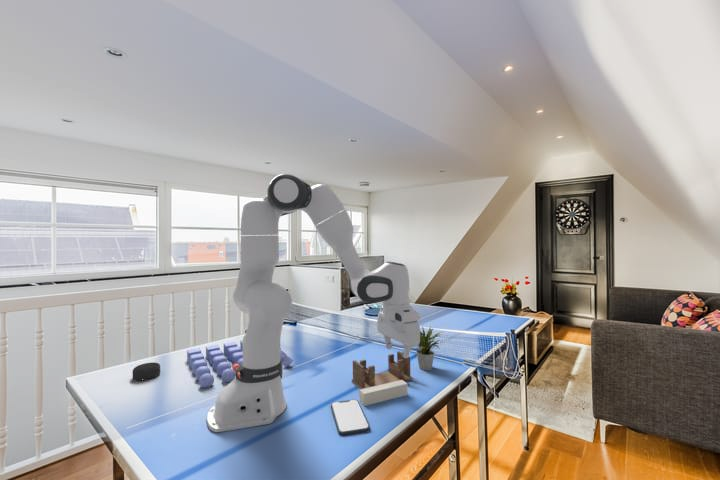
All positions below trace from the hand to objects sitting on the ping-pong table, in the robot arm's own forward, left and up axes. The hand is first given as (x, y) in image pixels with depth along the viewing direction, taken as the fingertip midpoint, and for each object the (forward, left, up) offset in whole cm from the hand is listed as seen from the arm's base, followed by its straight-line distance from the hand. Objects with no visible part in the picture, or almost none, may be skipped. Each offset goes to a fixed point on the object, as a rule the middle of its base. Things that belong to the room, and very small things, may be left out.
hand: (397, 352), depth 109 cm
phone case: (-20, -5, -14) cm, 25 cm away
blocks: (-42, +54, -15) cm, 70 cm away
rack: (+1, +11, -14) cm, 18 cm away
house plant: (+22, +12, -14) cm, 29 cm away
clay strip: (-5, 0, -14) cm, 15 cm away
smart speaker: (-75, +58, -14) cm, 96 cm away
